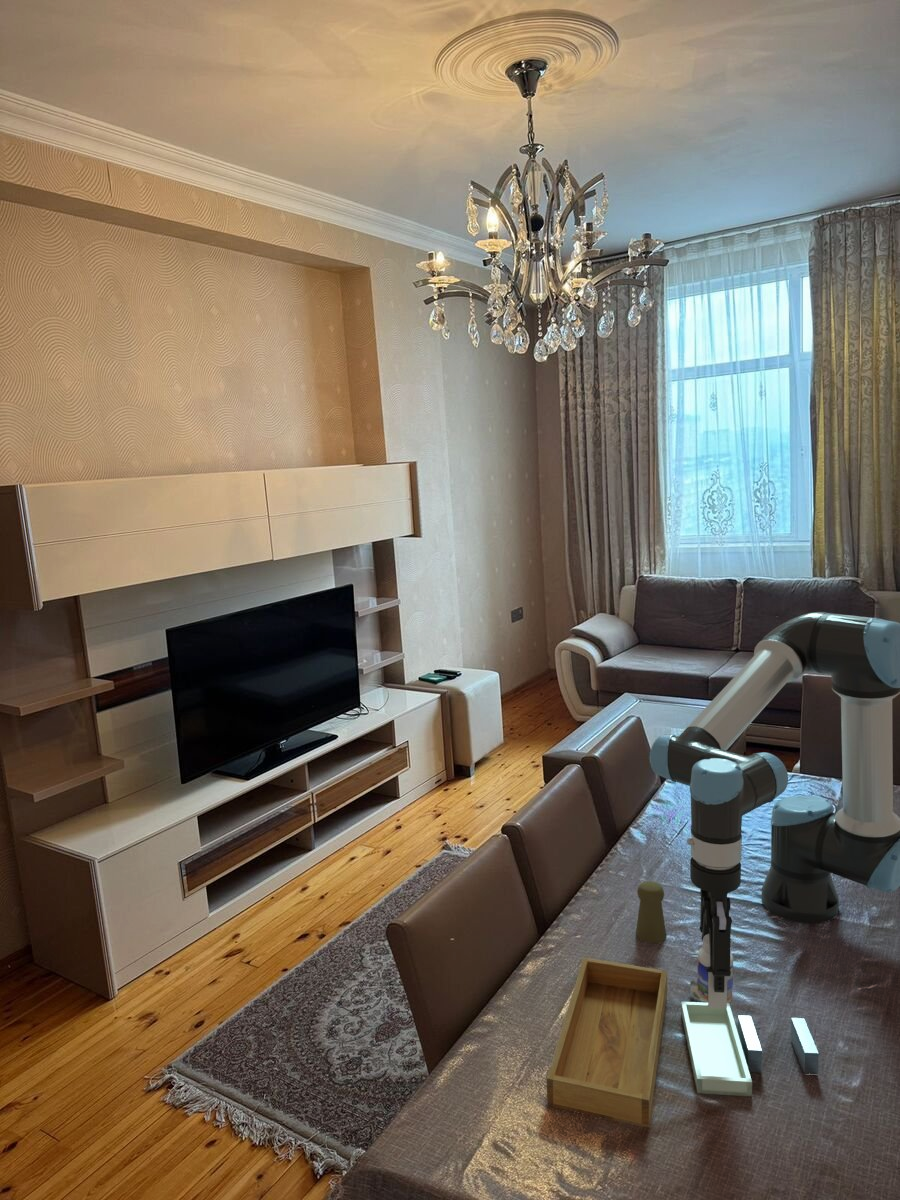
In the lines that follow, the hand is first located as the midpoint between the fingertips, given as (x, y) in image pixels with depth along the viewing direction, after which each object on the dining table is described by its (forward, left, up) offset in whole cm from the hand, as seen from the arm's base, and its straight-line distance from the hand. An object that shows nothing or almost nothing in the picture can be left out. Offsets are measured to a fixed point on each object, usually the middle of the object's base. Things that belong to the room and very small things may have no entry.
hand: (714, 993), depth 133 cm
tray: (+16, 0, -11) cm, 20 cm away
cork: (+7, -33, -11) cm, 35 cm away
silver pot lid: (-1, -14, -11) cm, 18 cm away
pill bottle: (0, 0, -1) cm, 1 cm away
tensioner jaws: (-10, 0, -11) cm, 15 cm away
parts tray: (0, 0, -11) cm, 11 cm away
